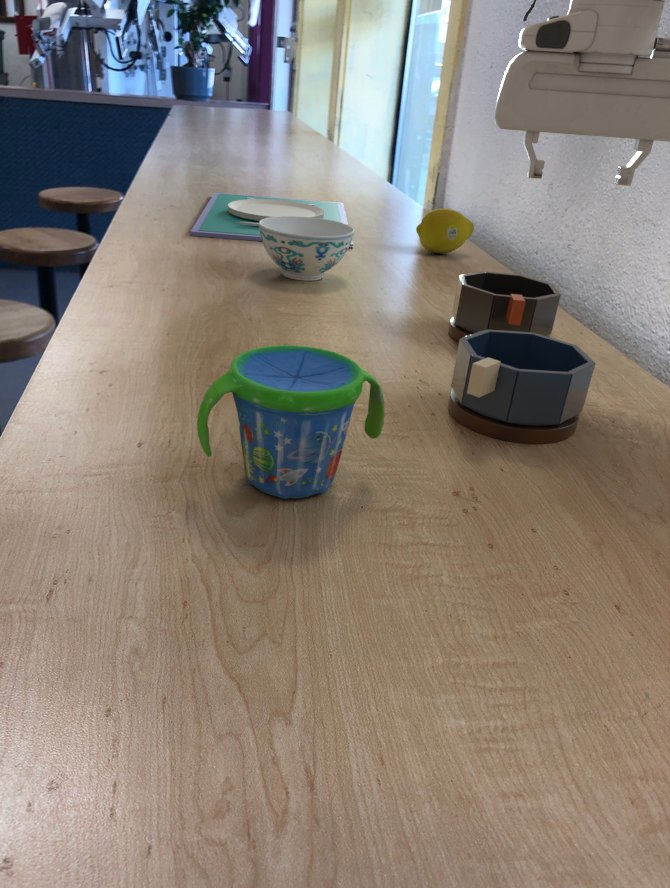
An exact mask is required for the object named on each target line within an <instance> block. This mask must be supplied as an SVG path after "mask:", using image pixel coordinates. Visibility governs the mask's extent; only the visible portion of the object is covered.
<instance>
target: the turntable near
mask: <svg viewBox="0 0 670 888" xmlns="http://www.w3.org/2000/svg"><path fill="white" fill-rule="evenodd" d="M447 409H448V412H449V415H450V416H451V417H452V418H453V419H454V420H455V421H456V422H458V423H459V424H460V425H462V426H464V427H465V428H467V429H470V430H472V431H473V432H476V433H479V434H481V435H484V436H486V437H490V438H493V439H497V440H501V441H506V442H512V443H519V444H520V443H521V444H534V445H535V444H540V445H541V444H543V445H544V444H552V443H558V442H562V441H564V440H567V439H569V438H571V437H572V436H573V435H574V434H575V432H576V430H577V427H578V424H579V420H580V413H579V414H577V415H575V416H574V417H572V418H570V419H568V420H567V421H565V422H563V423H561V424H558V425H547V426H529V425H519V424H513V423H507V422H503V421H499V420H495V419H492V418H489V417H486V416H483V415H481V414H479V413H477V412H475V411H473V410H471V409H469V408H468V407H466V406H463V405H462V404H461V403H460V401H459V399H458V398H457V396H456V394H455V392H454V390H453V388H451V390H450V394H449V399H448V405H447Z"/></svg>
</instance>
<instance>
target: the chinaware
mask: <svg viewBox="0 0 670 888" xmlns="http://www.w3.org/2000/svg"><path fill="white" fill-rule="evenodd" d="M259 230H260V235H261V239H262V241H261V242H262V245H263V248H264V250H265V251H266V253H267V256H269V258H270V259H271V261H273V262H274V264H275V265H276V266H278V267H279V268H280V269H281V274H282V276H284V277H285V278H288V279H291V280H297V281H306V282H307V281H309V282H310V281H312V282H313V281H318V280H322V279H323V278H324V277H325V272H327V271H329V270H331V269H333V268H334V267H335V266H336V265H337V264H339V262H341V261H342V259H343V258H344V257H345V255H346V253H347V252H348V250H349V249H350V248H349V246H350V244H351V241H352V242H353V237H354V235H355V228H354V227H352V226H350V225H349V224H348V225H347V224H344V223H340V222H337V221H332V220H327V219H320V218H312V217H299V216H279V217H270V218H265V219H262V220H260V221H259ZM321 278H322V279H321Z"/></svg>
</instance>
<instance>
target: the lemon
mask: <svg viewBox="0 0 670 888" xmlns="http://www.w3.org/2000/svg"><path fill="white" fill-rule="evenodd" d="M474 227H475V225H474V223H473V222H472V221H471V220H470V219H468V218H467V217H466V216H465V215H464V214H463V213H461V212H460V211H458V210H455V209H451V208H443V207H442V208H437V209H433V210H431V211H429V212H427V213H426V214H425V215H424V216H423V218H422V219H421V222H420V223H419V224H418V225H417V226H416V228H415V232H416V233H417V235H418V237H419V242H420V245H421V246H422V247H423V248H424V249H425V250H426V251H429V252H431V253H434V254H438V255H439V254H442V255H443V254H447V253H452V252H454V251H456V250H457V249H458V250H459V248H460V247H462V246H463V245H464V244H465V243H466V241H467V240H469V239H470V238H471V237H472V234H473V233H474V230H475V229H474Z"/></svg>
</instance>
